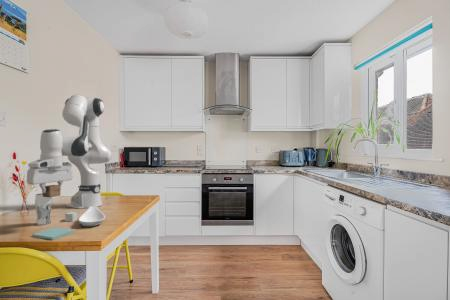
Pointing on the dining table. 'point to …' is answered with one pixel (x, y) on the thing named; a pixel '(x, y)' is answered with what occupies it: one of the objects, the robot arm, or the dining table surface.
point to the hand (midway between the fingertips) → (51, 191)
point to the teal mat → (53, 233)
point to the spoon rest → (91, 217)
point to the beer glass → (43, 209)
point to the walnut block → (52, 191)
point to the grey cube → (71, 216)
